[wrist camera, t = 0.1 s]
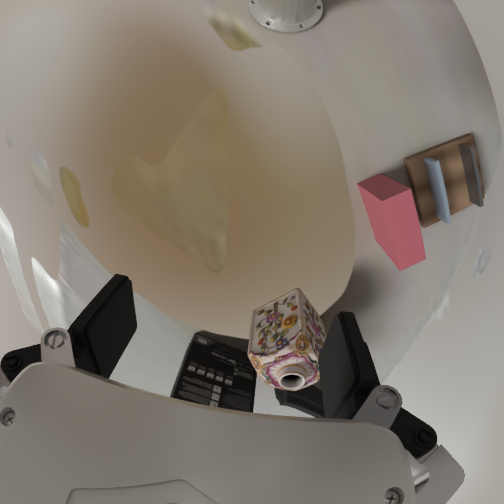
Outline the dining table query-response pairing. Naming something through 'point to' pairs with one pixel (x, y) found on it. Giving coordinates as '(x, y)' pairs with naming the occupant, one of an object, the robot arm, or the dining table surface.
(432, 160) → the divider
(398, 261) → the red block
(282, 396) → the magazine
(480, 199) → the bookend
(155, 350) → the dining table surface
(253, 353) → the decorative jar
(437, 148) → the shelf board
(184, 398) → the graphics card box
